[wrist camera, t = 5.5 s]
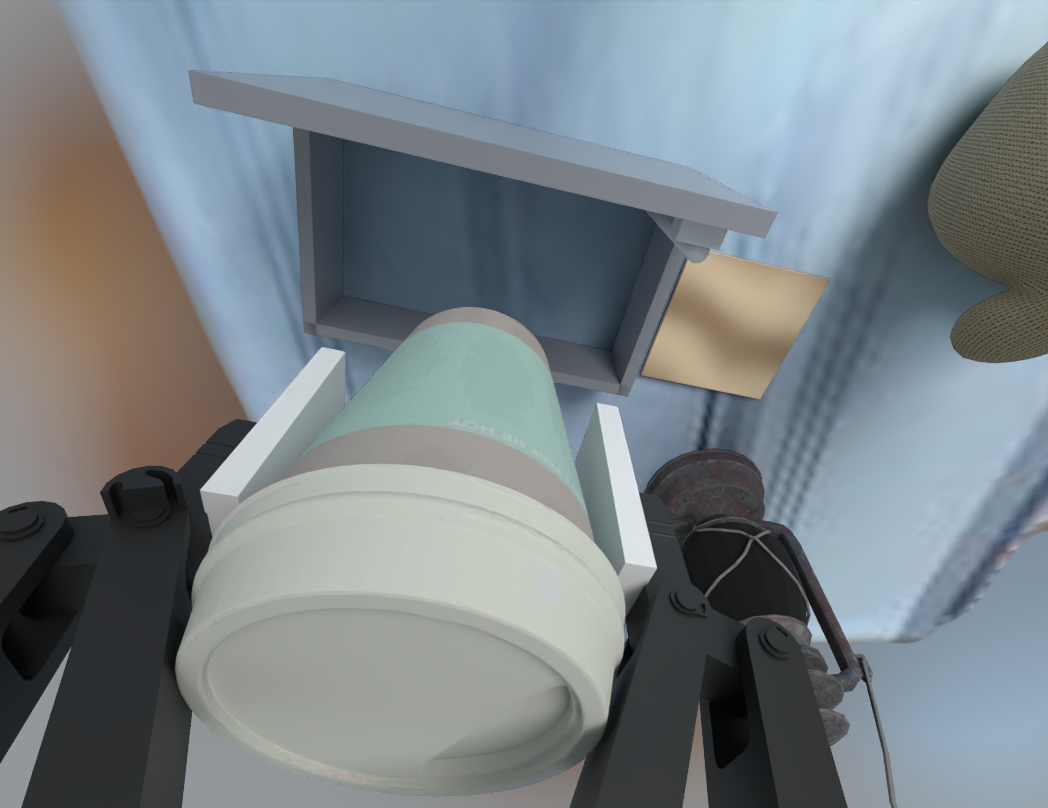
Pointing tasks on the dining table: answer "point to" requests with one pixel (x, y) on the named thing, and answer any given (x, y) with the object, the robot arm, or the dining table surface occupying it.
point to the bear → (1001, 218)
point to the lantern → (757, 570)
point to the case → (493, 147)
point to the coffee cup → (416, 584)
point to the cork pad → (731, 324)
